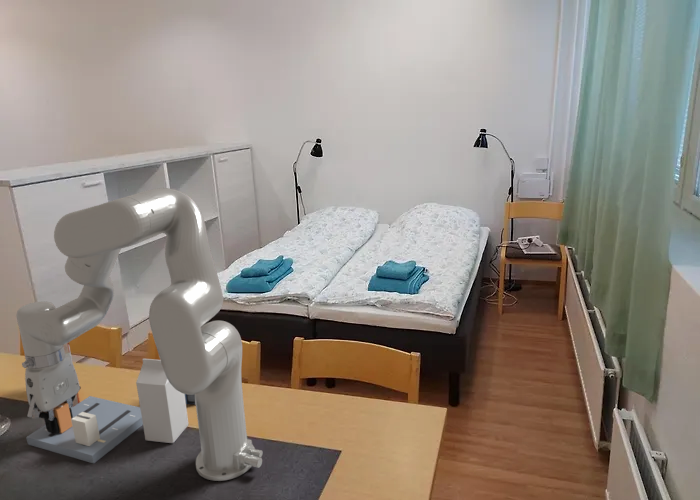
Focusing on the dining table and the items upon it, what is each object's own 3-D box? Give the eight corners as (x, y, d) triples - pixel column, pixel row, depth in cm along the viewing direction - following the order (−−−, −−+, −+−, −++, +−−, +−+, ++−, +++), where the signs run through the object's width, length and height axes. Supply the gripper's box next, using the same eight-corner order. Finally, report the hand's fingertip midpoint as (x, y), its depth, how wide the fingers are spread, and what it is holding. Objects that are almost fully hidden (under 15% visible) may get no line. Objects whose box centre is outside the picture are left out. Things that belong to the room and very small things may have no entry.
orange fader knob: (72, 425, 121) (68, 403, 120) (61, 433, 119) (56, 410, 117) (60, 422, 123) (55, 400, 121) (49, 430, 120) (44, 406, 118)
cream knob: (100, 438, 116) (95, 414, 115) (89, 446, 114) (84, 422, 112) (86, 434, 118) (82, 411, 116) (75, 442, 115) (70, 418, 113)
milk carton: (173, 444, 117) (162, 368, 112) (145, 440, 118) (133, 366, 113) (188, 425, 124) (179, 353, 119) (162, 422, 125) (151, 351, 120)
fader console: (152, 417, 128) (151, 409, 127) (93, 463, 111) (92, 455, 111) (91, 402, 135) (89, 395, 134) (27, 444, 118) (26, 436, 118)
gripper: (24, 377, 107) (41, 452, 112) (88, 343, 122) (100, 411, 127) (-2, 371, 110) (16, 445, 115) (64, 338, 124) (77, 406, 129)
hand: (60, 427), depth 121 cm, fingers closed on orange fader knob, 3 cm apart
